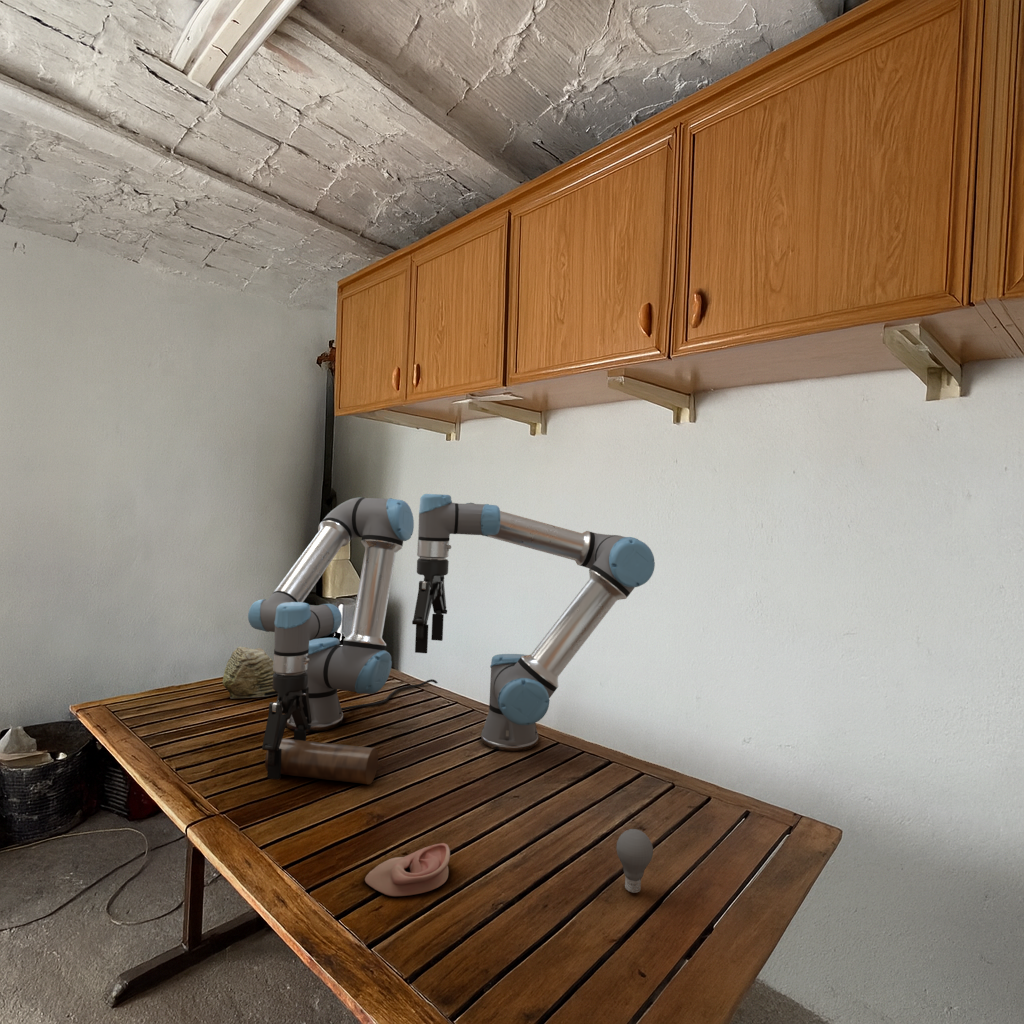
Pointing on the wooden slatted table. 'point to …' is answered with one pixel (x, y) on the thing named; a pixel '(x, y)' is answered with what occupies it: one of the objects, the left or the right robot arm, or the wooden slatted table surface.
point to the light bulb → (634, 857)
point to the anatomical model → (412, 872)
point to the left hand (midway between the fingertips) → (287, 767)
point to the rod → (327, 761)
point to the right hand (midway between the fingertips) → (429, 646)
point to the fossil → (249, 674)
